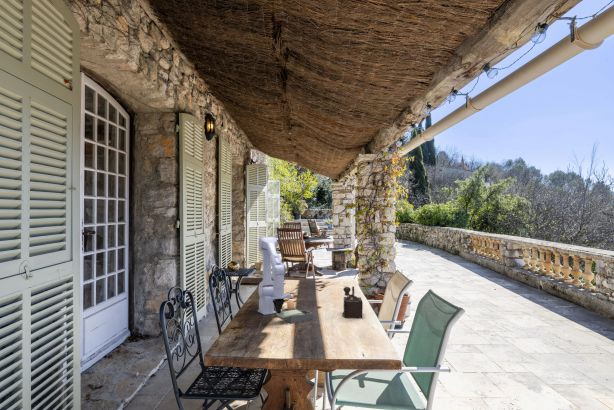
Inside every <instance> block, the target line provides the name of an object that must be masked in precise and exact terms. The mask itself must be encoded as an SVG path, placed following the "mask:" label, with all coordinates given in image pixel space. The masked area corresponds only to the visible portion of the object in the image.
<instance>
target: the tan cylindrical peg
mask: <svg viewBox="0 0 614 410" xmlns="http://www.w3.org/2000/svg"><path fill="white" fill-rule="evenodd" d="M286 308H287V311H290V310H294V308H295V300H288V301H286Z"/></svg>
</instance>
